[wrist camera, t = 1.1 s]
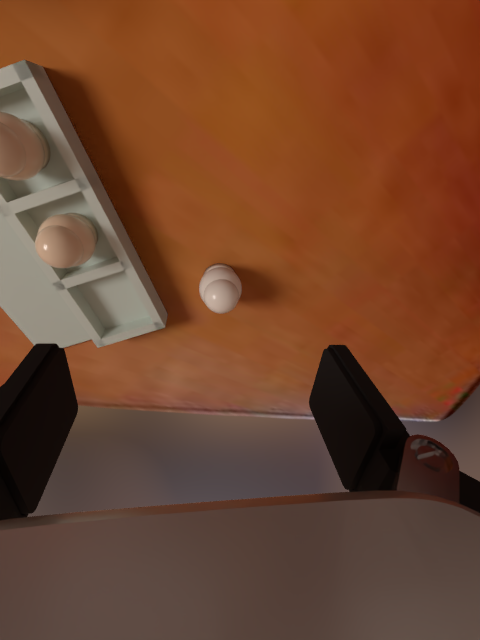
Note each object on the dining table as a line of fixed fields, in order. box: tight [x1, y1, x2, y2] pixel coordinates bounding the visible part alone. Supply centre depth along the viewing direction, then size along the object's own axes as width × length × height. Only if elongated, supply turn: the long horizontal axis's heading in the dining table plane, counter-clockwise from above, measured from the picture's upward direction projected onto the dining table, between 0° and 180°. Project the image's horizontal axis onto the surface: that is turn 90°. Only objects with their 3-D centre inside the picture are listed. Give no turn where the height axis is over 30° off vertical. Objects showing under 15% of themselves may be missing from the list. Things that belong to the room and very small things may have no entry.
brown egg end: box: [0, 112, 51, 181], centre depth 24 cm, size 5×5×6 cm
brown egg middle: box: [35, 213, 98, 268], centre depth 28 cm, size 5×5×6 cm
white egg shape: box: [199, 263, 242, 313], centre depth 34 cm, size 5×5×6 cm
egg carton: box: [0, 60, 168, 348], centre depth 31 cm, size 25×17×3 cm
